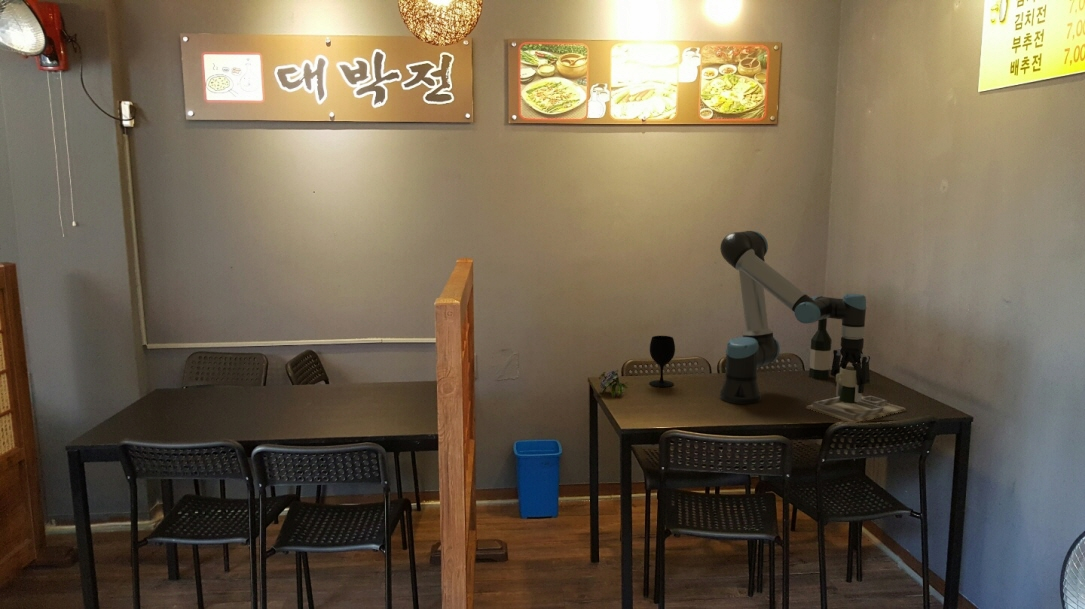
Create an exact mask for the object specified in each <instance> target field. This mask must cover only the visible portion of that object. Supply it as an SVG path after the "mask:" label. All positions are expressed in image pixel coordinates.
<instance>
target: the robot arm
mask: <svg viewBox="0 0 1085 609" xmlns="http://www.w3.org/2000/svg"><path fill="white" fill-rule="evenodd" d="M768 249H769V245H768V241H767V239H766V237H765V235H763V234H762V233H760V232H759V231H755V230H754V231H753V230H745V231H735V232H734V231H733V232H730V233H729V234H727V235H726V236H724V238H722V240H721V243H720V249H719V250H720V253H721V256H722V257H723V259H724V261H725V262H727V263H728V264H729V265H730V266H732V268H734V269H735V270H737V271H738V274H739V280H740V281H739V283H740V289H741V290H740V291H741V299H742V308H743V316H744V318H743V319H744V323H745V324H744V325H745V330H744V332H743V333H742V336H740V337H737V336H736V337H734V338H731V339H729V340H728V341H727V344H726V349H725V353H726V354H725V378H724V382H723V385H722V387H721V389H720V391H719V392H720V393H719V397H720V400H723V401H724V402H727V403H731V404H735V405H737V404H738V405H739V404H740V405H753V404H757V403H759V402H761V395H762V394H761V391H760V390H759V385H758V380H757V377H758V369H759V368H761V367H766V366H769V365H771V364H772V363H774V362H775V361H776V360H777V358H778V357H779V355H780V351H781V349H780V347H781V346H780V344H779V341H778V339H776V338H775V337H774V333H773V332H774V331H773V330H772V329H771V328H769V322H768V314H767V306H766V305H767V304H766V298H765V297H766V296H765V291H764V290H766V292H769V294H771V295H772V296H773V297H775V298H776V299H777V300H779V301H780V302H781V304H784V305H785V306H786V307H788V309H790V310H791V311H792V312H794V317H795V318H796V320H797V321H798V322H799V323H801V324H804V325H805V324H813V323H817V321H818V320H822V319H825V318H827V319H835V320H841V328H840V330H841V331H840V332H841V333H840V336H841V337H840V349H839V348H838V349H833V351H832V352H833V357H832V358H833V360H832V365H831V368H830V369H831V370H830V376H833V377H834V379H835V382H834V386H835V387H836V388H835V391H836V393H835V397H839V396H840V393H841V388H842V387H843V385H841V384H840V383H839V382H836V374H838V373H840V367H842V369H845V368H846V366H848V364H849V363H851V366H853V367H854V370H856V378H857V382H858V383H857V384H856V387H855V402H859V401H861V398H862V396H863V394H864V391H865V390H864V389H865V385H867V384H870V383H871V379H870V378H871V377H870V360H871V357H870V355H864V352H863V349H864V343H865V342H864V341H865V340H864V337H865V327H866V326H865V324H866V313H867V297H866V296H865V295H864V294H861V293H845V294H844V295H843V298H838V297H828V296H822V295H821V296H819V295H818V296H817V295H815V296H812V297H810V296H809V295H808V294H806V292H804V291H803V290H801V289H800V288H799V287H798V286H797V285H795V284H794V283H792V282H791V281H790V280H788V279H787V278H786V277H785V276H783V275H782V274H781V273H779V272H778V271H777V270H776V269H774V268H773V267H772V266H770V265H769V264H768V263H766V262H765V256H766V254H767V253H768Z"/></svg>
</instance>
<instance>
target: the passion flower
mask: <svg viewBox="0 0 1085 609" xmlns="http://www.w3.org/2000/svg"><path fill="white" fill-rule="evenodd" d="M618 372H619V369H615V370H612V371H610V372H608V373H607V371H605V370H604V371H603V372H602V373H601V374H600V375H599V378H598V380H601V379H602V380H601V381H600V386H599V387H600V389H602V390H601V392H600V393H601V394H604V393H605V391H606V390H607V388H608V387H609V389H610V390H611V397H612V398H615V396H616V394H617V397H618V396H620V395H621V394H623V393H624V390H625V389H627V390H628V388H629V382H624V383H623V382H620V379H619V374H618ZM605 375H606V376H605Z"/></svg>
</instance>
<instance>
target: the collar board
mask: <svg viewBox="0 0 1085 609" xmlns="http://www.w3.org/2000/svg"><path fill="white" fill-rule="evenodd" d="M839 398H840V396H838V397H837V396H835V397H830V398H827V399H826V398H825V399H822V400H818V401H817V400H816V401H812V404H809V405H806V407H805V409H808V410H810V409H811V410H810V411H812V410H813V412H815V411H816V413H818V412H819V413H818V414H821V413H822V415H824V414H826V415H825V416H827V415H829V416H828V417H830V416H832V417H831V418H833V417H835V418H834V419H836V418H838V419H837V420H839V419H841V420H840V421H842V422H845V421H863V422H867V421H870V420H871V421H872V420H875V419H879V418H882V416H883V417H886V415H887V416H891V415H895V414H899V413H902V412H906V411H907V410H906V409H907V408H906V407H903V406H899V405H896V404H892V403H889V402H888V400H887V399H884V398H880V397H878V396H873V395H867V396H865V395H862V398H861V401H859V402H857V403H855V404H850V403H844V402H842V401H839ZM898 412H899V413H898ZM894 413H895V414H894ZM890 414H891V415H890ZM874 418H875V419H874ZM866 420H867V421H866Z"/></svg>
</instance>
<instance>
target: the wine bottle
mask: <svg viewBox="0 0 1085 609" xmlns="http://www.w3.org/2000/svg"><path fill="white" fill-rule="evenodd" d="M827 322H828V318H825V319H822V320H818V322H817V325H818V326H817V330H816V332H815V333H814V335H813V336H812V337H811V338H810V340H811V341H810V354H809V355H810V356H809V370H808V371H809V374H808V377H809V378H811V377H812V378H811V379H813V378H816V379H815V380H819V379H821V380H822V379H825V380H829V379H830V375H831V370H830V369H831V356H832V355H831V354H832V340H833V339H832V338H831V336H830V334H829V333H828V331H827V327H828V326H827V325H828V324H827ZM828 378H829V379H828ZM822 381H823V380H822Z"/></svg>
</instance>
